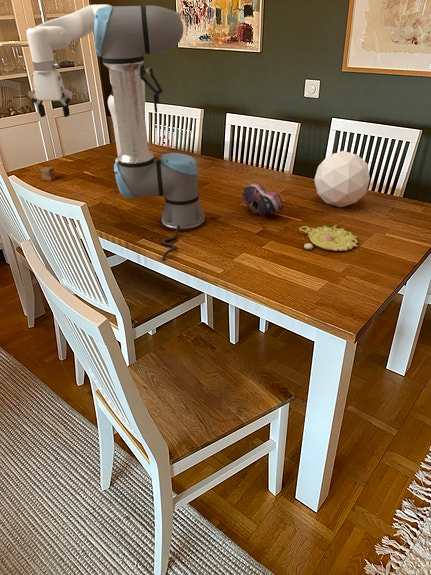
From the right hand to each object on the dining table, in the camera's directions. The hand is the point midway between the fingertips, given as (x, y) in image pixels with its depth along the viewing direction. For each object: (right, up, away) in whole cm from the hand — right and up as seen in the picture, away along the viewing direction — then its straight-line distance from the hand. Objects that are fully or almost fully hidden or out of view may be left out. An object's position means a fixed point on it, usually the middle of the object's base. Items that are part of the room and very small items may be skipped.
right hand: (139, 113), depth 180 cm
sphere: (+77, -40, -14) cm, 88 cm away
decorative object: (+67, -56, -38) cm, 95 cm away
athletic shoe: (+46, -43, -17) cm, 65 cm away
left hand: (-31, -5, -9) cm, 33 cm away
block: (-44, -22, +20) cm, 53 cm away
